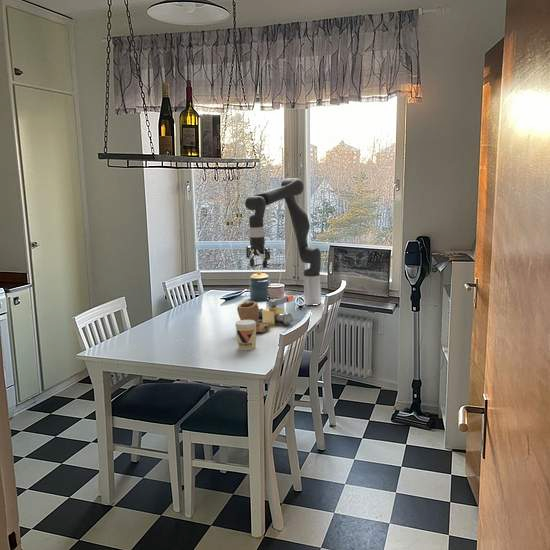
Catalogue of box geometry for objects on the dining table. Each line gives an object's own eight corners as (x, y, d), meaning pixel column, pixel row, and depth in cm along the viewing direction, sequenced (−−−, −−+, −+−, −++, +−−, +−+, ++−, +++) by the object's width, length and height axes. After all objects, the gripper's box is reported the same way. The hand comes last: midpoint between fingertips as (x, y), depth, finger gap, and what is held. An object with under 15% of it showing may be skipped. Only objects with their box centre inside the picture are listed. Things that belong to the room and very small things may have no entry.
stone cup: (234, 334, 282) (232, 304, 279) (244, 327, 293) (242, 298, 290) (262, 336, 277) (261, 306, 274) (271, 329, 288) (270, 300, 285)
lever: (273, 307, 295) (272, 302, 294) (267, 306, 298) (267, 301, 297) (294, 300, 308) (293, 295, 307) (288, 299, 310) (288, 294, 310)
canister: (260, 302, 345) (259, 273, 342) (245, 299, 354) (244, 271, 350) (275, 298, 354) (274, 270, 351) (260, 295, 363) (259, 268, 360)
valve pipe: (254, 321, 303) (253, 305, 301) (264, 318, 309) (263, 302, 307) (283, 327, 290) (283, 310, 288) (293, 323, 296) (293, 307, 294)
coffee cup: (234, 351, 256) (233, 325, 254) (239, 344, 265) (237, 319, 263) (255, 351, 255) (254, 324, 253) (259, 344, 264) (257, 319, 262)
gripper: (272, 235, 291) (273, 267, 294) (251, 234, 300) (253, 265, 303) (262, 237, 285) (264, 269, 288) (241, 236, 294) (243, 267, 297)
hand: (258, 267), depth 295 cm, fingers open, 8 cm apart
